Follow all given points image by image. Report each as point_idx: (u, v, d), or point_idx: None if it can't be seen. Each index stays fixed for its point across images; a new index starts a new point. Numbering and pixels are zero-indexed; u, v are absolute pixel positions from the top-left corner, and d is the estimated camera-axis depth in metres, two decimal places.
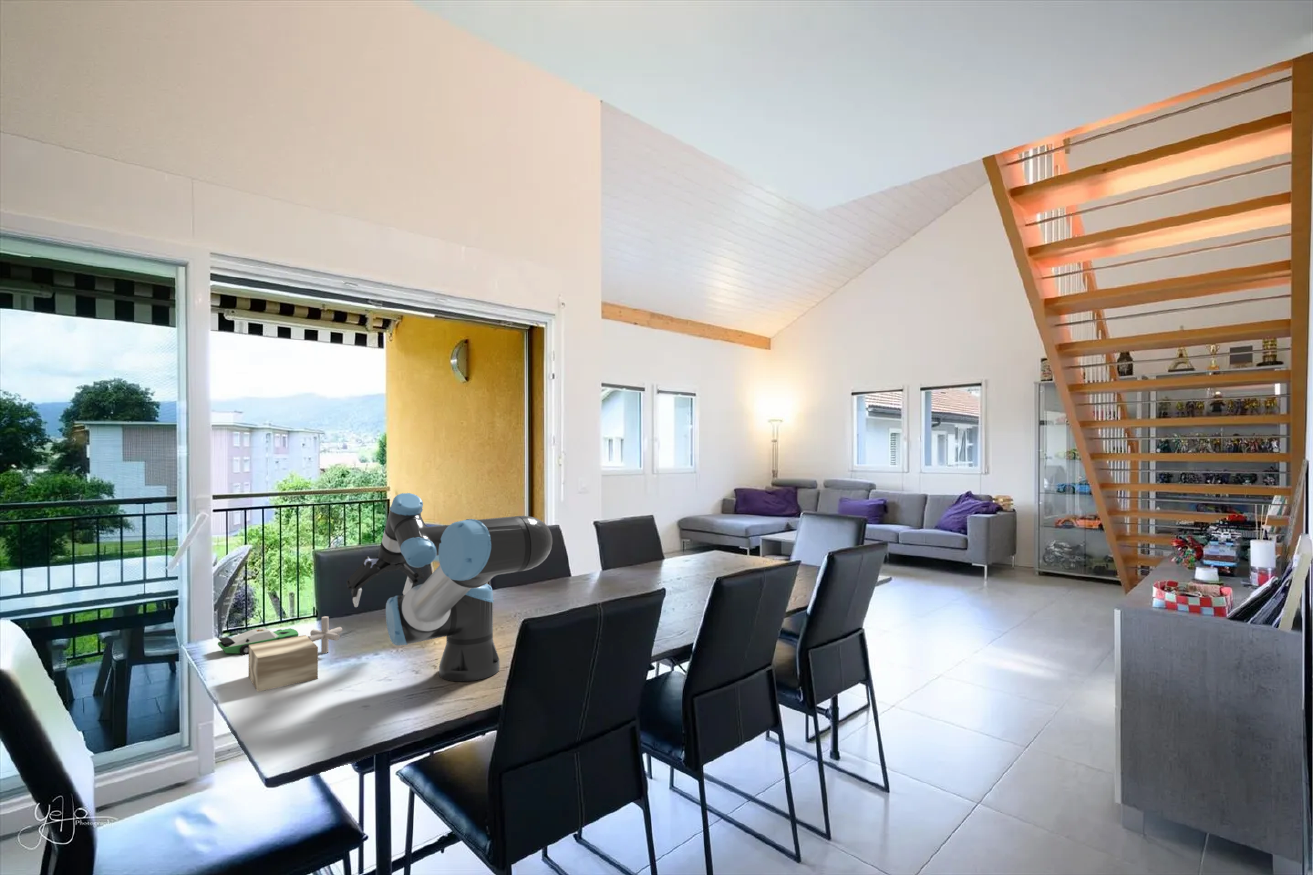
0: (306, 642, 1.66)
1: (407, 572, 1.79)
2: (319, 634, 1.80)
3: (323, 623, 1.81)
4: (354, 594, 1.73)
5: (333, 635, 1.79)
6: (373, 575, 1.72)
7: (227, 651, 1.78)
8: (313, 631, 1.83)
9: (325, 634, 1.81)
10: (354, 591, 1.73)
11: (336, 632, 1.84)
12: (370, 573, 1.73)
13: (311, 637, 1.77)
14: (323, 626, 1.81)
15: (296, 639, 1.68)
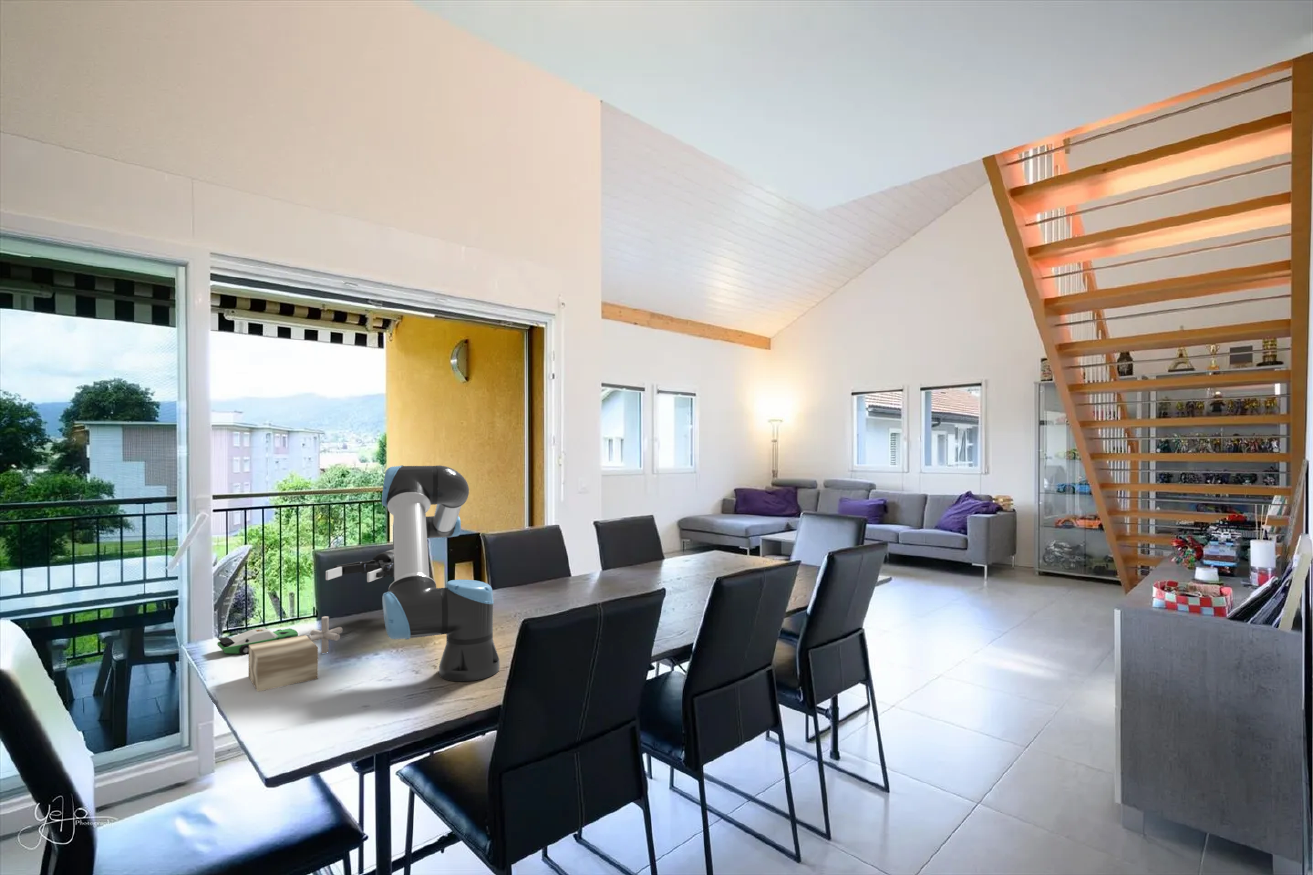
0: (306, 642, 1.66)
1: (383, 565, 2.02)
2: (319, 634, 1.80)
3: (323, 623, 1.81)
4: None
5: (333, 635, 1.79)
6: (358, 564, 2.04)
7: (227, 651, 1.78)
8: (313, 631, 1.83)
9: (325, 634, 1.81)
10: None
11: (336, 632, 1.84)
12: None
13: (311, 637, 1.77)
14: (323, 626, 1.81)
15: (296, 639, 1.68)
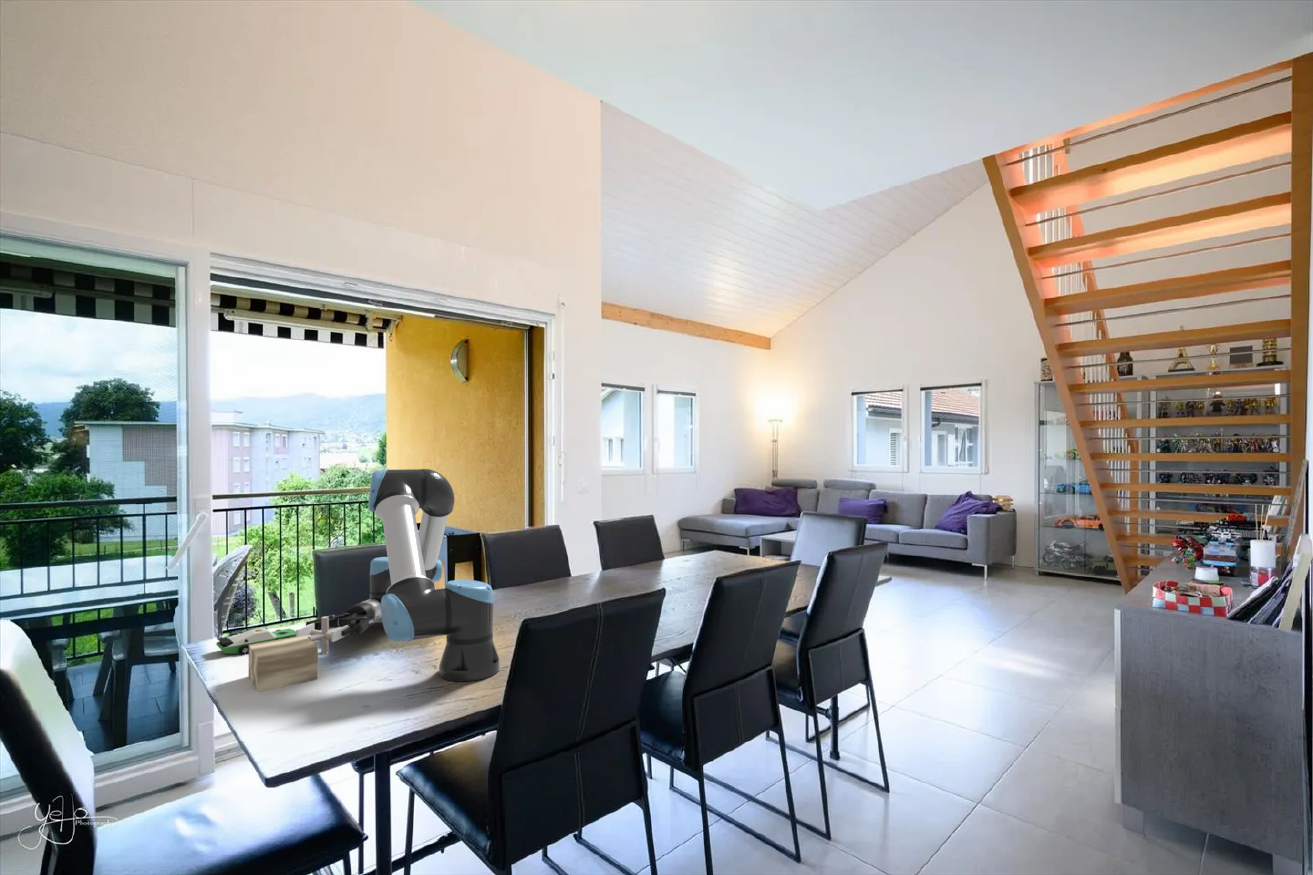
0: (306, 642, 1.66)
1: (353, 620, 1.88)
2: (319, 634, 1.80)
3: (323, 623, 1.81)
4: None
5: None
6: (331, 618, 1.90)
7: (226, 651, 1.78)
8: (313, 631, 1.83)
9: (325, 634, 1.81)
10: None
11: None
12: None
13: (311, 637, 1.77)
14: (323, 626, 1.81)
15: (296, 639, 1.68)
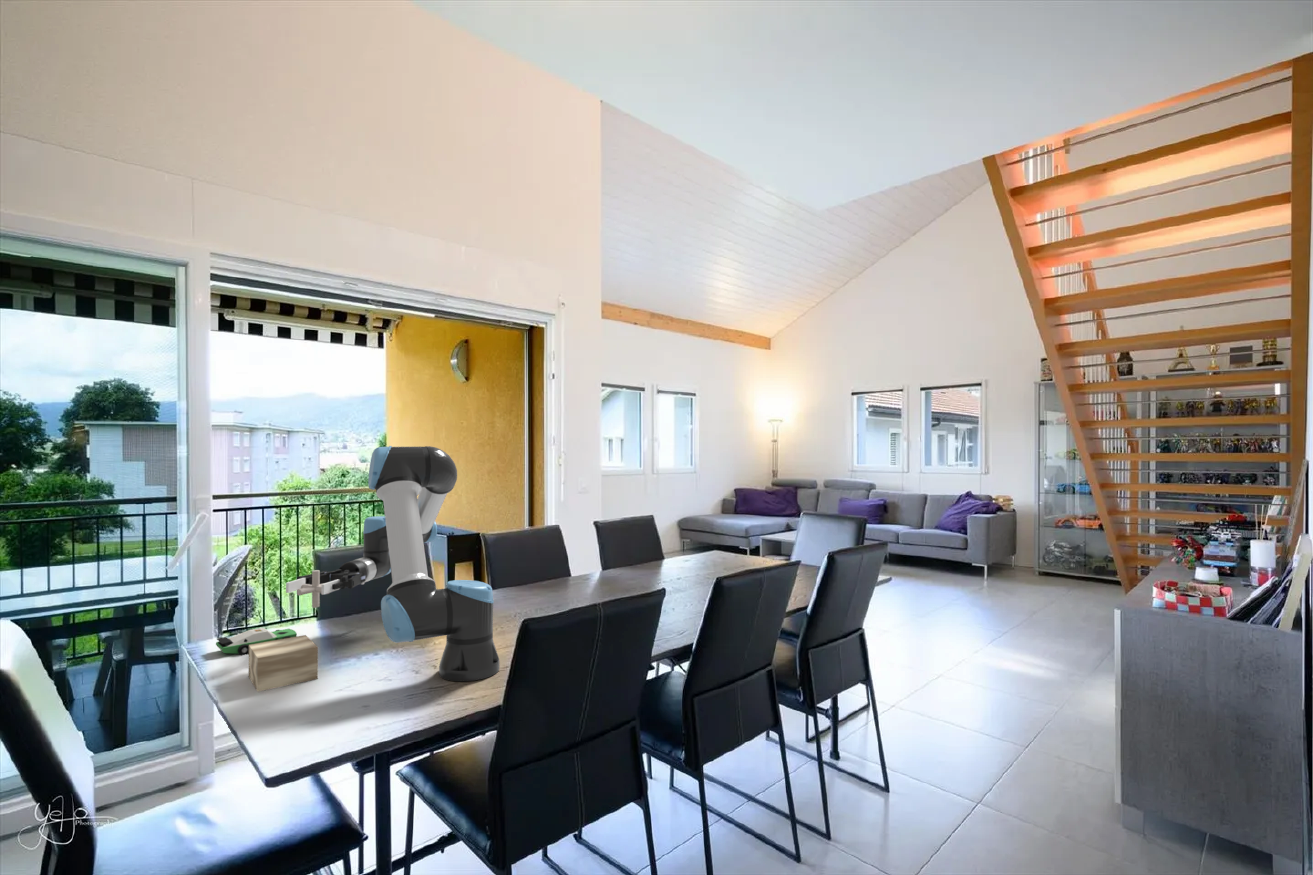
0: (306, 642, 1.66)
1: (345, 576, 1.85)
2: (310, 587, 1.76)
3: (313, 576, 1.78)
4: None
5: None
6: (322, 574, 1.87)
7: (225, 651, 1.78)
8: (304, 585, 1.80)
9: (316, 588, 1.77)
10: None
11: None
12: None
13: (301, 590, 1.74)
14: (314, 579, 1.78)
15: (296, 639, 1.68)
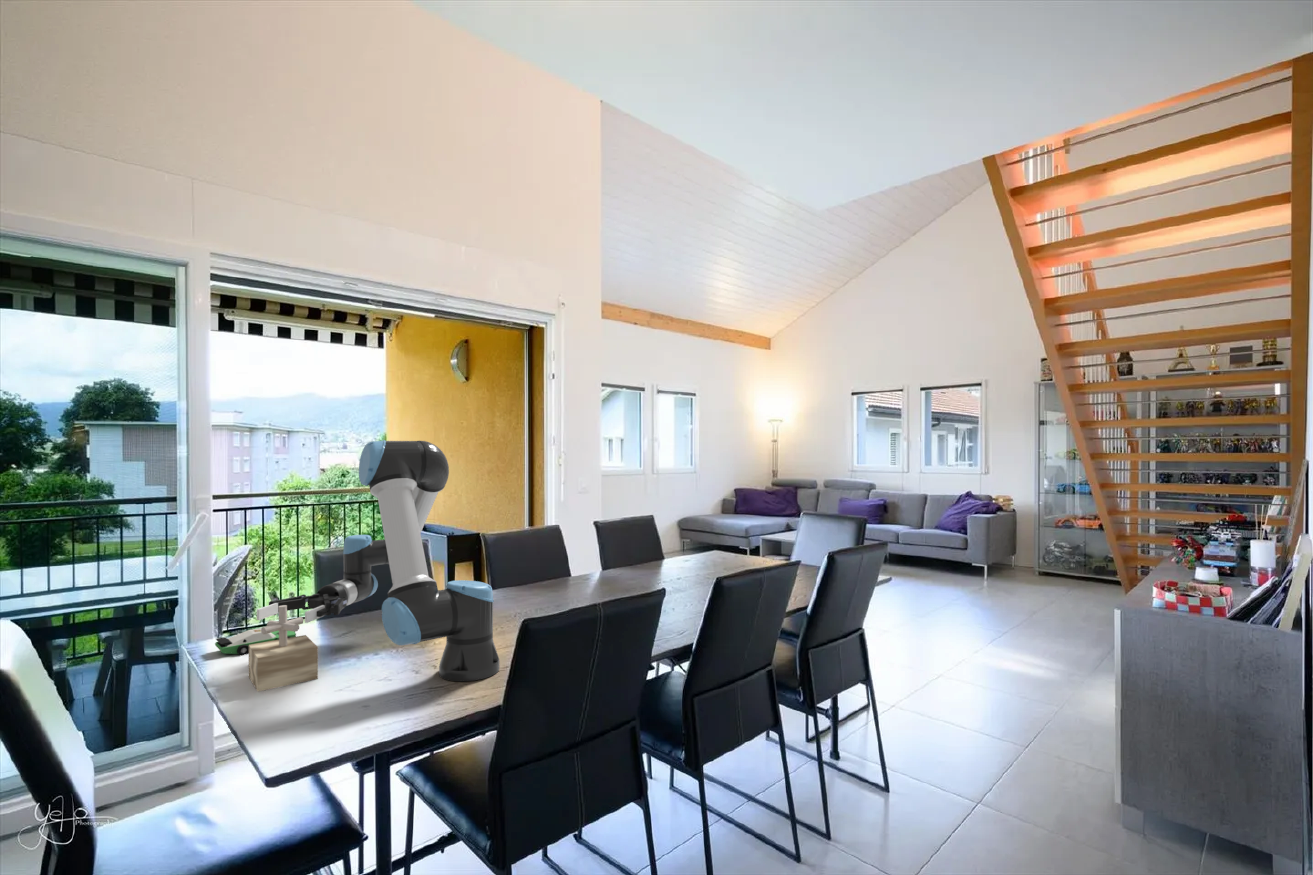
0: (306, 642, 1.66)
1: (327, 601, 1.73)
2: (276, 625, 1.61)
3: (280, 613, 1.62)
4: None
5: (291, 625, 1.60)
6: (298, 599, 1.74)
7: (224, 651, 1.78)
8: (270, 622, 1.64)
9: (283, 625, 1.62)
10: None
11: (296, 623, 1.65)
12: None
13: (266, 628, 1.58)
14: (281, 616, 1.62)
15: (296, 639, 1.68)
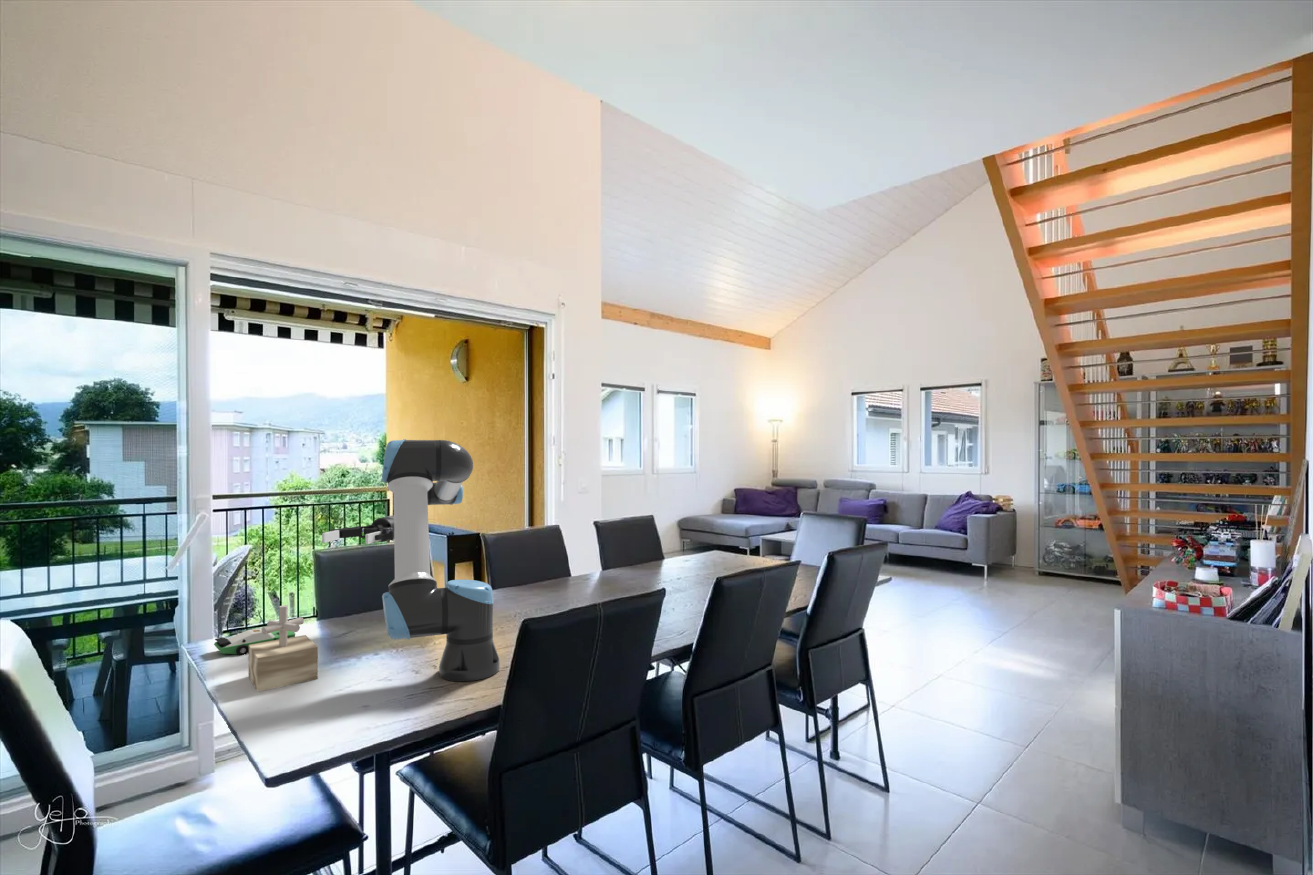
0: (306, 642, 1.66)
1: None
2: (276, 625, 1.61)
3: (280, 613, 1.62)
4: None
5: (292, 626, 1.60)
6: (356, 528, 1.95)
7: (224, 651, 1.78)
8: (270, 622, 1.64)
9: (283, 625, 1.62)
10: None
11: (296, 623, 1.65)
12: None
13: (266, 628, 1.58)
14: (281, 616, 1.62)
15: (296, 639, 1.68)
